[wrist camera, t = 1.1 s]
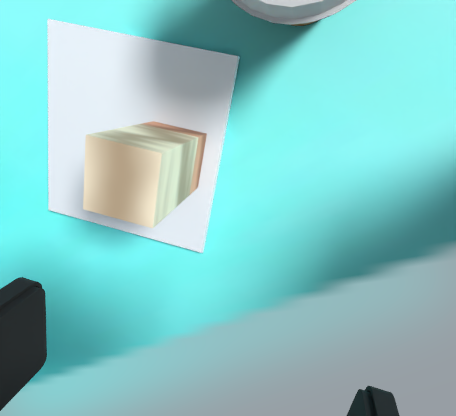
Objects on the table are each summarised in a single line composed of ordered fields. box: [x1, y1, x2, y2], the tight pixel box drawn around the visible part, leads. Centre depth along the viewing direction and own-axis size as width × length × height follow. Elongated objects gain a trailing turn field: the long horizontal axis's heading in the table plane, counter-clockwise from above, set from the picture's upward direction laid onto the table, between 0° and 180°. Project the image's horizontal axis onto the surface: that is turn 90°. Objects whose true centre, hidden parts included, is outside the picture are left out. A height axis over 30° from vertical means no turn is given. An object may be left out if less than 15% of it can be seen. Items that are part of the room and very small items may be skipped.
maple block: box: [83, 121, 207, 228], centre depth 26 cm, size 5×5×10 cm
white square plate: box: [48, 19, 240, 253], centre depth 31 cm, size 17×18×1 cm
